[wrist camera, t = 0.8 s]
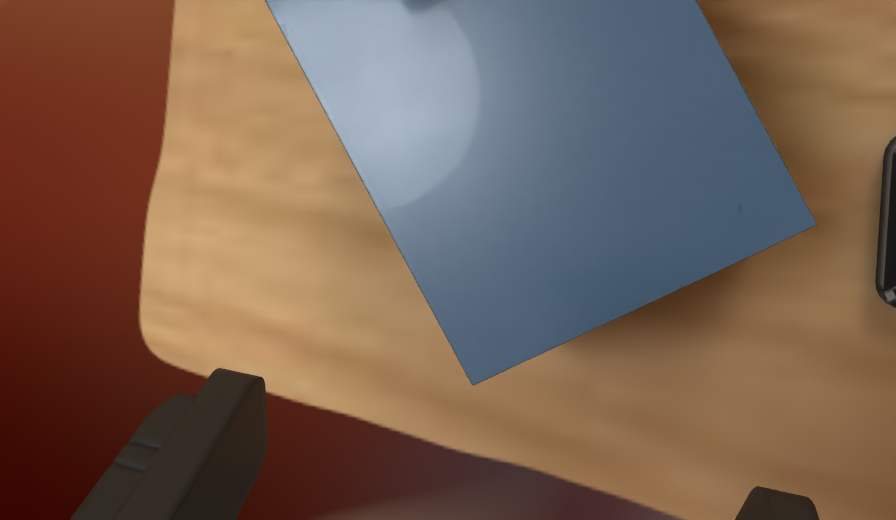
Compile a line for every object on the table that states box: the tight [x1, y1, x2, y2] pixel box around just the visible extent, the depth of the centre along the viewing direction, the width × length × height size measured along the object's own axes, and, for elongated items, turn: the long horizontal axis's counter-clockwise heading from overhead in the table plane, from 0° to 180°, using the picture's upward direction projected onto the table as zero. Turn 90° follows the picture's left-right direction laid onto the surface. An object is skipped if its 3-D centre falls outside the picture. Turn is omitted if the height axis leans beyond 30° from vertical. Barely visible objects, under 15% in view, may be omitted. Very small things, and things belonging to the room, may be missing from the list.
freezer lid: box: [265, 0, 817, 385], centre depth 22 cm, size 17×13×5 cm
